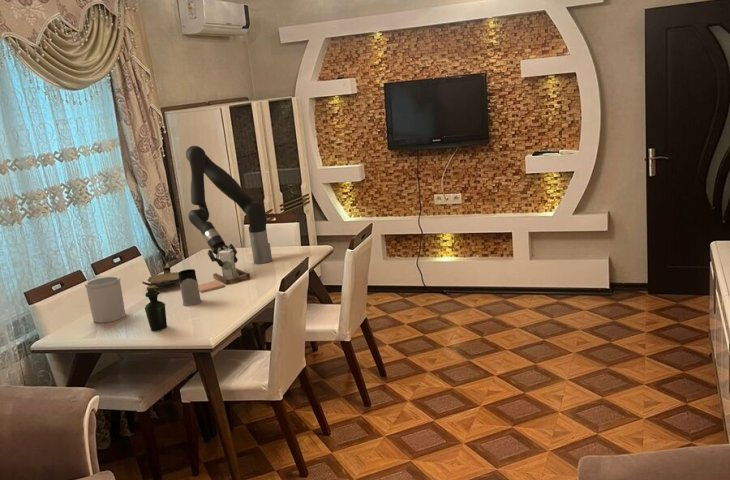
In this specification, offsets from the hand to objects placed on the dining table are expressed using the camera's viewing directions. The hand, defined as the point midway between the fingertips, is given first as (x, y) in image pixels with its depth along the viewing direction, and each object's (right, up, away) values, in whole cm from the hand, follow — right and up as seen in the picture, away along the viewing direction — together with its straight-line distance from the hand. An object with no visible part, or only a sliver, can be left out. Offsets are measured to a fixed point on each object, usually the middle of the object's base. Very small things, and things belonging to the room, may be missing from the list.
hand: (229, 263), depth 360 cm
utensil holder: (-46, -23, -40) cm, 65 cm away
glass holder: (-11, -16, -30) cm, 36 cm away
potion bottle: (-17, -25, -64) cm, 70 cm away
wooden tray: (+1, -8, +1) cm, 8 cm away
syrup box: (0, -7, +3) cm, 8 cm away
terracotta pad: (-8, -11, -10) cm, 17 cm away
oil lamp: (-31, -11, +5) cm, 34 cm away
